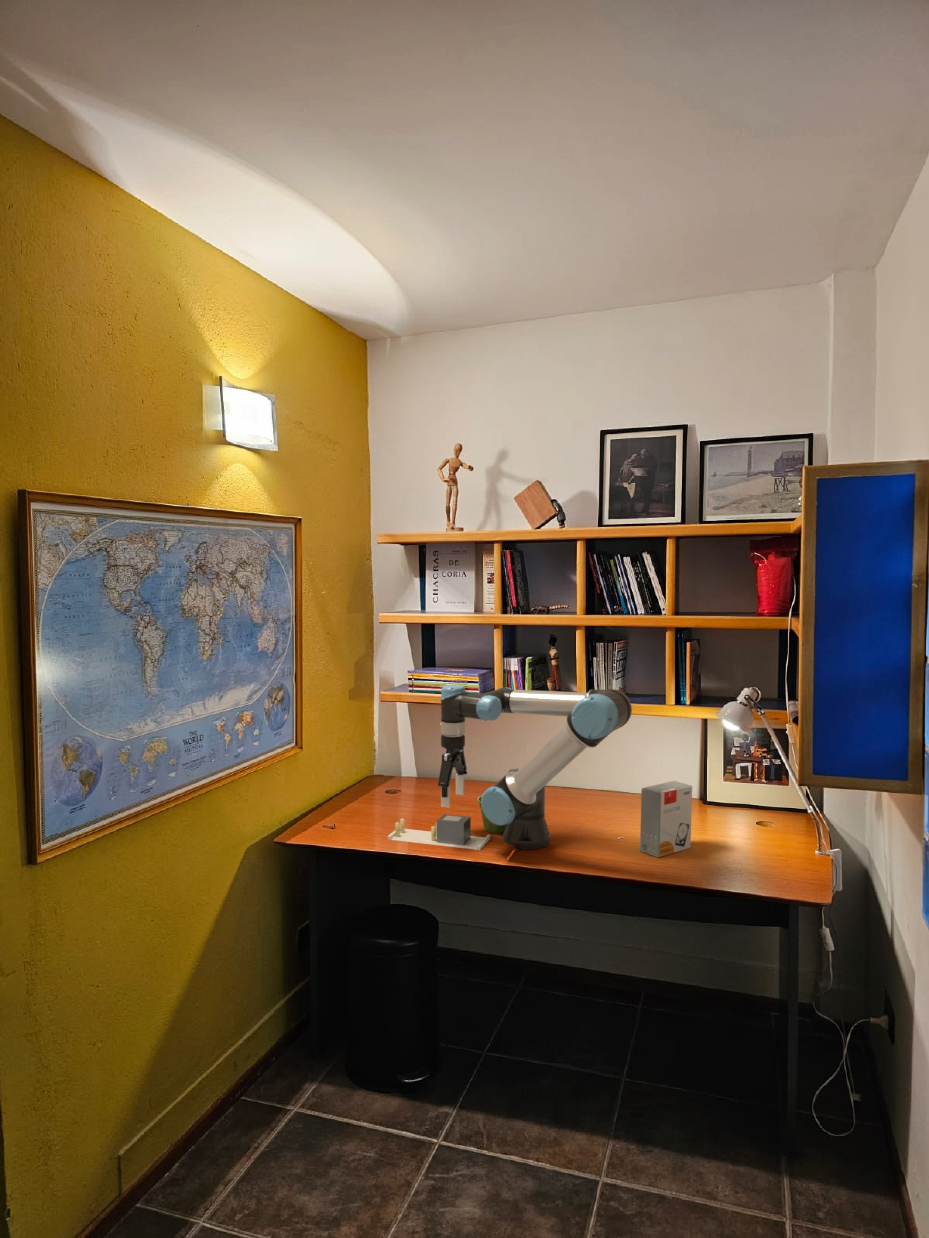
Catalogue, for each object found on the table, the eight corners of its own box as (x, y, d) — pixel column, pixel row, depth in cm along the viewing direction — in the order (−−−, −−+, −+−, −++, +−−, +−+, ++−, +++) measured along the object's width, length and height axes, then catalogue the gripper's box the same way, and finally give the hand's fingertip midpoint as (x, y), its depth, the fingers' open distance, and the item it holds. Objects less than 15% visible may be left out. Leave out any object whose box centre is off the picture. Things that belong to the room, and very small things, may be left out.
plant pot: (470, 831, 265) (470, 798, 264) (496, 823, 272) (496, 791, 271) (494, 840, 256) (494, 806, 255) (520, 832, 263) (520, 799, 262)
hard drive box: (658, 858, 239) (659, 793, 238) (639, 851, 246) (639, 787, 244) (691, 847, 248) (692, 784, 247) (672, 840, 255) (672, 779, 253)
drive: (470, 838, 255) (470, 816, 255) (463, 845, 249) (463, 823, 248) (444, 835, 258) (444, 813, 258) (436, 842, 251) (436, 820, 251)
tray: (490, 841, 255) (490, 824, 255) (480, 853, 245) (480, 835, 244) (401, 831, 265) (400, 814, 265) (387, 842, 255) (387, 825, 254)
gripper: (454, 725, 264) (454, 788, 266) (427, 742, 240) (427, 811, 242) (476, 727, 262) (476, 790, 263) (450, 743, 238) (450, 813, 240)
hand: (452, 800), depth 253 cm, fingers open, 13 cm apart
